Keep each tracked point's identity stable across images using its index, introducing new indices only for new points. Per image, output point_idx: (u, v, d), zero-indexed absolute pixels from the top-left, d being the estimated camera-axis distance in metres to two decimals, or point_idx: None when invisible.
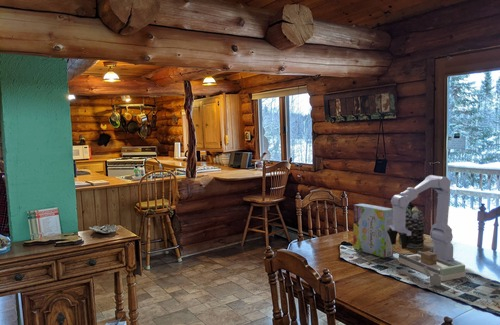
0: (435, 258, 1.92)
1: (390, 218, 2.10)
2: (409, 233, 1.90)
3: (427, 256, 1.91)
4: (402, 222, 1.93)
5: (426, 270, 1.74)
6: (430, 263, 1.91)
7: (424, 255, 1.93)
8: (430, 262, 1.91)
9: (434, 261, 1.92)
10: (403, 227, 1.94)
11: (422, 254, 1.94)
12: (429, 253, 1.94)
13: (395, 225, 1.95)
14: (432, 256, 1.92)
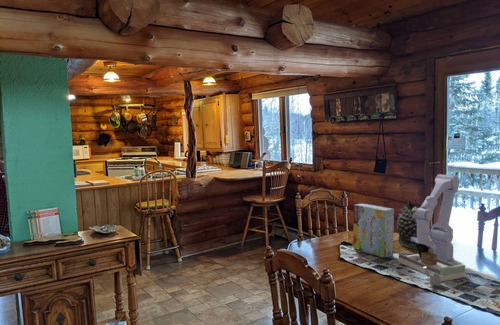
0: (435, 258, 1.92)
1: (390, 218, 2.10)
2: (434, 246, 1.90)
3: (427, 256, 1.91)
4: (426, 235, 1.94)
5: (426, 270, 1.74)
6: (430, 263, 1.91)
7: (424, 255, 1.93)
8: (430, 262, 1.91)
9: (435, 261, 1.92)
10: (427, 240, 1.94)
11: (422, 254, 1.94)
12: (429, 253, 1.94)
13: (419, 238, 1.95)
14: (432, 256, 1.91)
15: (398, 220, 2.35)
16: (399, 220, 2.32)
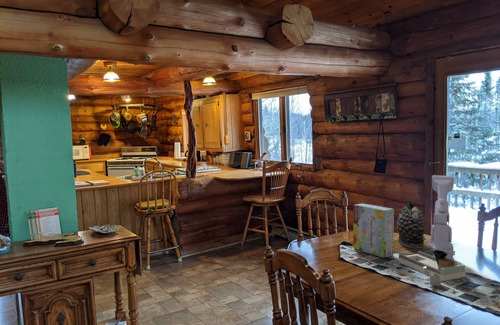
0: (454, 265, 1.82)
1: (390, 218, 2.10)
2: (453, 253, 1.80)
3: (445, 263, 1.81)
4: (444, 241, 1.84)
5: (426, 270, 1.74)
6: None
7: (442, 262, 1.83)
8: None
9: None
10: (445, 246, 1.84)
11: (440, 261, 1.84)
12: (447, 260, 1.84)
13: (437, 244, 1.85)
14: (451, 263, 1.81)
15: (398, 220, 2.34)
16: (399, 220, 2.32)
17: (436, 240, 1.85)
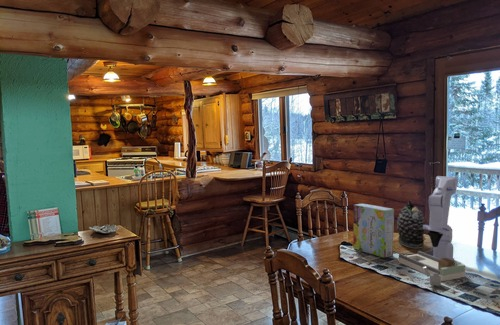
0: (454, 265, 1.82)
1: (390, 218, 2.10)
2: (447, 233, 1.87)
3: (445, 263, 1.81)
4: (439, 222, 1.91)
5: (426, 270, 1.74)
6: None
7: (442, 262, 1.83)
8: None
9: None
10: (440, 227, 1.91)
11: (440, 261, 1.84)
12: (447, 260, 1.84)
13: (432, 225, 1.92)
14: (451, 263, 1.81)
15: (398, 220, 2.35)
16: (399, 220, 2.32)
17: (431, 221, 1.93)
